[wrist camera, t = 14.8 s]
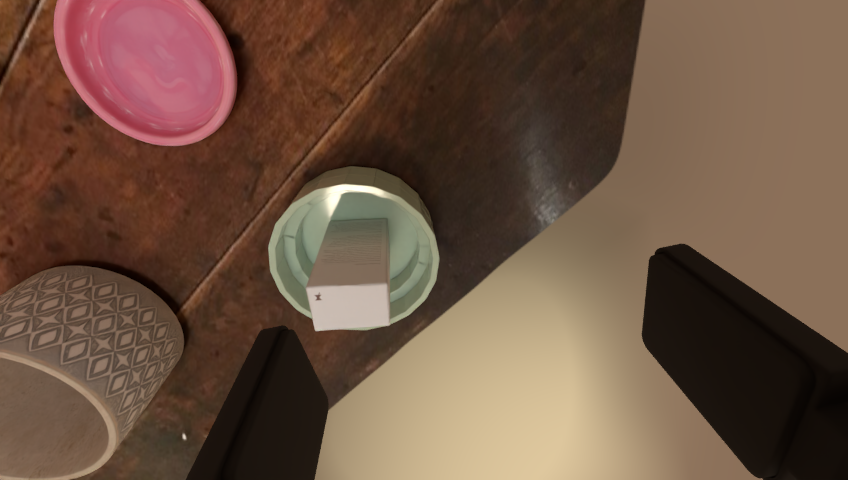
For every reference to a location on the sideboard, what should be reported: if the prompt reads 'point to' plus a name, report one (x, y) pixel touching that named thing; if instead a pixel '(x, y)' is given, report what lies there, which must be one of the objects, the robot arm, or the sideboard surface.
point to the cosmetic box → (351, 276)
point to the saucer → (148, 66)
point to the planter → (78, 368)
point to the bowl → (356, 200)
